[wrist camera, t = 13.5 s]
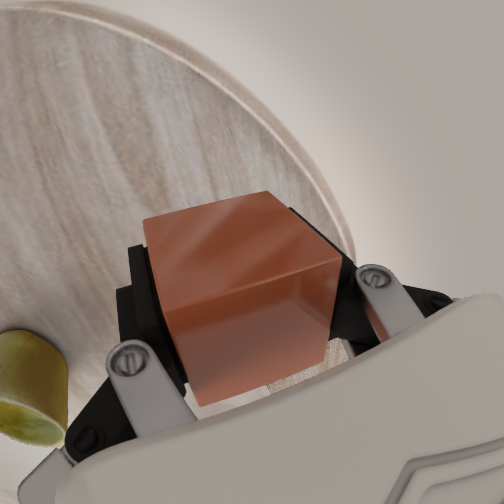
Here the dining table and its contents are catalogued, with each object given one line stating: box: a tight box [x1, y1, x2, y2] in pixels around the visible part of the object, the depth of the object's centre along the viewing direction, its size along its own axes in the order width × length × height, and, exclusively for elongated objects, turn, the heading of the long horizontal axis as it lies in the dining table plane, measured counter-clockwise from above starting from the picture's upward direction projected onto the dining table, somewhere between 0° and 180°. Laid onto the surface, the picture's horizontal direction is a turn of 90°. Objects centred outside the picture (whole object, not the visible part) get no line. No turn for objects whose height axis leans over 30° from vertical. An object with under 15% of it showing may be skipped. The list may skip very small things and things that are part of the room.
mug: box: [0, 330, 68, 447], centre depth 20 cm, size 12×10×10 cm
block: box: [142, 191, 342, 407], centre depth 10 cm, size 4×4×4 cm
